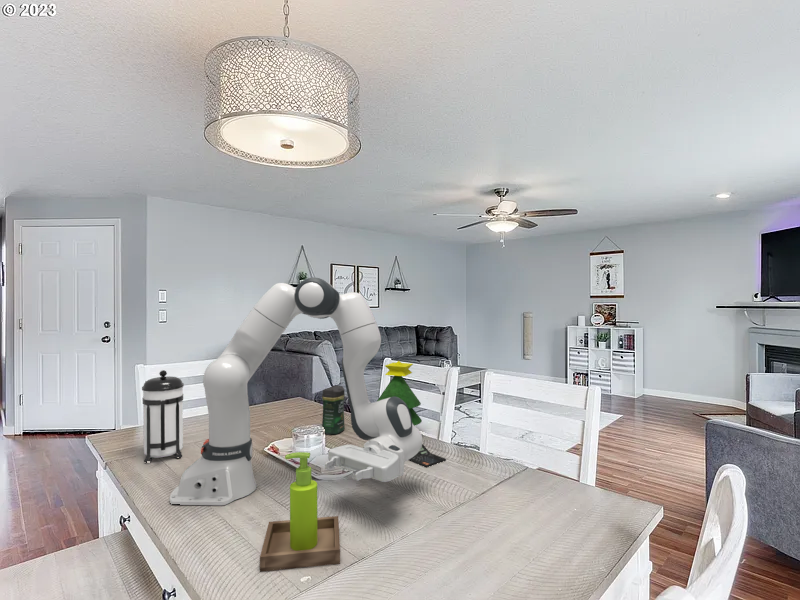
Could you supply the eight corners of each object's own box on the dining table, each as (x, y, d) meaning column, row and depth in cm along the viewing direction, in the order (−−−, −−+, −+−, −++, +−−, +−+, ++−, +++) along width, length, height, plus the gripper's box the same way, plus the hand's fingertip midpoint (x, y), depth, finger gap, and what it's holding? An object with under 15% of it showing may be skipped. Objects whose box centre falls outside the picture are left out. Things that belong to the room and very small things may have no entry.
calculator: (426, 468, 141) (426, 459, 141) (402, 458, 150) (402, 450, 150) (446, 461, 148) (446, 452, 148) (422, 452, 156) (422, 443, 156)
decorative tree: (365, 440, 168) (364, 362, 168) (385, 426, 186) (384, 356, 186) (412, 446, 161) (411, 365, 161) (428, 431, 179) (427, 358, 179)
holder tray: (259, 571, 88) (259, 557, 88) (269, 534, 102) (268, 521, 102) (340, 563, 91) (340, 549, 91) (338, 528, 104) (338, 515, 104)
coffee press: (125, 462, 147) (124, 373, 147) (166, 446, 162) (166, 365, 162) (162, 469, 141) (162, 376, 140) (202, 453, 155) (201, 368, 155)
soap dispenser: (287, 537, 99) (287, 449, 99) (318, 535, 100) (318, 448, 100) (283, 552, 93) (282, 459, 93) (316, 550, 94) (315, 457, 94)
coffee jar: (336, 436, 174) (336, 389, 173) (319, 434, 176) (318, 388, 176) (347, 429, 183) (347, 385, 182) (331, 427, 185) (331, 383, 185)
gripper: (350, 435, 122) (311, 449, 111) (408, 451, 110) (371, 468, 99) (350, 458, 122) (312, 474, 112) (408, 476, 110) (371, 496, 99)
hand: (340, 471), depth 105 cm, fingers open, 8 cm apart
